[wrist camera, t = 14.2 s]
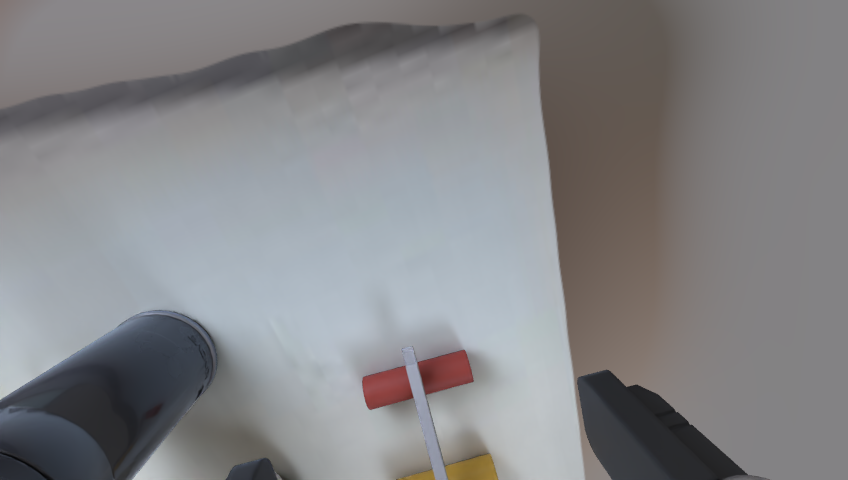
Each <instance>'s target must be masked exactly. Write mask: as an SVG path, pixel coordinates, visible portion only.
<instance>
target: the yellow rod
mask: <svg viewBox="0 0 848 480" xmlns="http://www.w3.org/2000/svg"><path fill="white" fill-rule="evenodd" d="M445 469H446V473H447V476H448V480H498V477H497V473H496V470H495V466H494V463H493V460H492V457H491V454H486V455H482V456H479V457H475V458H472V459H468V460H464V461H461V462H457V463H454V464H450V465H446V466H445ZM396 480H435V476H434V472H433V469H432V470H429V471H425V472H421V473H418V474H414V475H411V476H407V477H403V478H400V479H396Z"/></svg>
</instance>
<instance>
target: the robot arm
mask: <svg viewBox="0 0 848 480" xmlns="http://www.w3.org/2000/svg"><path fill="white" fill-rule="evenodd" d="M216 369H217V354H216V349H215V346H214V344H213V342H212V340H211V338H210V337H209V335H208V334H207V333H206V331H205V330H204V329H203V328H202V327H201V326H200V325H198V324H197V323H196V322H194V321H193V320H191V319H190V318H188V317H186V316H183V315H181V314H178V313H175V312H170V311H161V310H158V311H148V312H143V313H140V314H137V315H135V316H133V317H131V318H129V319H128V320H126V321H125V322H123V323H122V324H120V325H119V326H118V327H117V328H115V329H114V330H112V331H111V332H109V333H107V334H106V335H104V336H103V337H101V338H99V339H97V340H96V341H94V342H93V343H91V344H89V345H88V346H86V347H85V348H83V349H81V350H80V351H78V352H77V353H75V354H73V355H72V356H70V357H69V358H67V359H65V360H64V361H62V362H60V363H59V364H57V365H56V366H54V367H52V368H51V369H49V370H48V371H46V372H44V373H43V374H41V375H40V376H38V377H36V378H35V379H33V380H32V381H30V382H28V383H27V384H25V385H24V386H22V387H20V388H19V389H17V390H16V391H14V392H12V393H11V394H9V395H8V396H6V397H4V398H3V399H1V400H0V480H132V479H133V478H134V477H135V476H136V474H137V473H138V472H139V471H140V469H141V468H142V467H143V466H144V464H145V463H146V462H147V461H148V460H149V458H150V457H151V456H152V455H153V453H154V452H155V451H156V450H157V448H158V447H159V446H160V445H161V443H162V442H163V441H164V440H165V438H166V437H167V436H168V435H169V433H170V432H171V431H172V430H173V428H174V427H175V426H176V425H177V423H178V422H179V421H180V420H181V418H182V417H183V416H184V415H185V413H186V412H187V411H188V410H189V408H190V407H191V406H192V405H193V403H194V402H195V401H196V400H197V398H198V397H199V396H201V395H202V394H203V393H204V392H205V390H206V389H207V388H208V386H209V385H210V384H211V382H212V380H213V378H214V376H215V373H216ZM577 384H578V390H579V396H580V402H581V408H582V414H583V419H584V426H585V431H586V435H587V438H588V440H589V443H590V445H591V447H592V449H593V452H594V453H595V455H596V457H597V458H598V459H599V461H600V462H601V464H602V465H603V467H604V468H605V470H606V471H607V473H608V474H609V476H610V477H611V479H612V480H770V479H766V478H762V477H758V476H752V475H748V474H747V473H745V472H744V471H743V470H742V469H741V468H740V467H739V466H738V465H736V464H735V463H734V462H733V461H732V460H731V459H730V458H729V457H728V456H726V455H725V454H724V453H723V452H722V451H721V450H720V449H719V448H717V447H716V446H715V445H714V444H713V443H712V442H711V441H710V440H708V439H707V438H706V437H705V436H704V435H703V434H702V433H701V432H699V431H698V430H697V429H696V428H695V427H694V426H693V425H690V424H689V422H688V421H687V420H686V419H685V418H684V417H683V416H682V415H680V414H679V413H678V412H675V410H674V408H673V407H671V406H670V405H669V404H668V403H667V402H666V401H665V400H664V399H662V398H661V397H660V396H659V395H658V394H656V393H654V392H651V391H649V390H647V389H645V388H643V387H641V386H638V385H633V386H629V387H626V386H625V385H624V384H623V383H622V382H621V381H620V380H619V379H617V377H616V376H615V375H613V374H612V373H611V372H610V371H609V370H604V371H600V372H596V373H593V374H588V375H585V376H581V377H579V378H578V380H577ZM198 399H199V398H198ZM195 403H196V402H195ZM192 407H193V406H192ZM190 410H191V409H190ZM187 414H188V413H187ZM226 480H277V477H276V474H275V472H274V469H273V466H272V464H271V462H270V460H269V459H267V458H263V459H259V460H255V461H251V462H247V463H243V464H240V465H236V466H234V467H233V468H232V470H231V471H230V473H229V475H228V477H227V479H226Z"/></svg>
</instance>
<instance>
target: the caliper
mask: <svg viewBox="0 0 848 480" xmlns="http://www.w3.org/2000/svg"><path fill="white" fill-rule="evenodd" d="M402 353H403V357H404V361H405V364H406V370H407V374H408V378H409V382H410V386H411V389H412V393H413V397H414V401H415V404H416V408H417V412H418V416H419V419H420V423H421V427H422V431H423V434H424V438H425V442H426V446H427V450H428V453H429V457H430V461H431V465H432V468H433V472H434V476H435V480H448V476H447V473H446V469H445V465H444V461H443V458H442V454H441V450H440V446H439V442H438V439H437V435H436V431H435V427H434V424H433V420H432V416H431V412H430V408H429V405H428V401H427V397H426V393H425V390H424V386H423V382H422V378H421V374H420V371H419V367H418V363H417V359H416V357H415V353H414V349H413V346H411V347H407V348H404V349H402Z"/></svg>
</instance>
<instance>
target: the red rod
mask: <svg viewBox="0 0 848 480" xmlns="http://www.w3.org/2000/svg"><path fill="white" fill-rule="evenodd" d="M417 363H418V367H419V371H420V374H421V378H422V382H423V386H424V390H425V393H426V395H427V394H430V393H434V392H438V391H441V390H445V389H449V388H452V387H456V386H460V385H463V384H467V383H471V382H474V380H473V375H472V371H471V367H470V364H469V360H468V357H467V354H466V351H465V350H461V351H458V352H454V353H450V354H447V355H443V356H439V357H436V358H432V359H428V360H424V361H421V362H417ZM362 383H363V392H364V397H365V401H366V404H367V407H368V408H369V410H372V409H375V408H379V407H383V406H386V405H390V404H394V403H397V402H401V401H405V400H408V399H412V398H414V397H413V393H412V389H411V386H410V382H409V378H408V374H407V370H406V366H402V367H398V368H395V369H391V370H387V371H384V372H380V373H376V374H373V375H369V376H365V377H363V381H362Z"/></svg>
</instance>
